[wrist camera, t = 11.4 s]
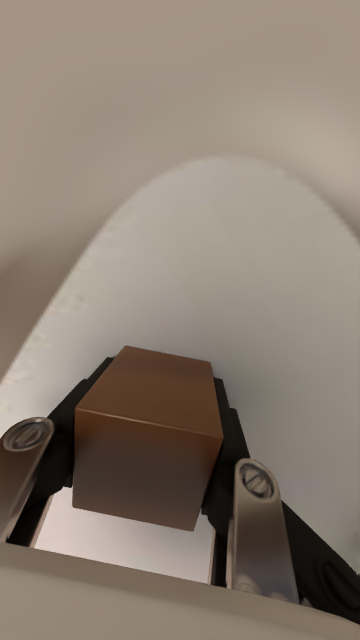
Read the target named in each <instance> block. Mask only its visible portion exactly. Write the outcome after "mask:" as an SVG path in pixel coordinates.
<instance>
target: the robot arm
mask: <svg viewBox="0 0 360 640" xmlns="http://www.w3.org/2000/svg"><path fill="white" fill-rule="evenodd" d="M114 359H115V358H110V357H107V358H106V359H105V360H104V361H103V363H102V364H101V365H100V366H99V367H98V368H97V369H96V370H95V372H94V373H93V374H92V375H91V376H90V377H89V378H88V379H83V380H82V381H80V382H79V384H78V385H77V386H76V387H75V388H74V389H73V390H72V391H71V392H70V393H69V394H68V395H67V396H66V397H65V398H64V400H63V401H62V402H61V403H60V404H59V405H58V406H57V407H56V408H55V409H54V410H53V411H52V412H51V413H50V414H49V415H48V417H47V418H45V417H33V418H29V419H25V420H23V421H21V422H19V423H17V424H15V425H14V426H12V427H11V428H9V429H8V430H7V431H6V432H5V433H4V435H3V436H2V437H1V439H0V640H360V579H359V577H358V576H357V575H356V573H355V572H354V571H353V569H352V568H351V567H350V566H349V565H348V564H347V563H346V562H345V561H344V560H343V559H342V558H341V557H340V556H339V555H338V554H337V553H336V552H335V551H334V550H333V549H332V548H331V547H330V546H329V545H328V544H327V543H326V542H325V541H324V540H323V539H322V538H320V537H319V536H318V535H317V534H316V533H315V532H314V531H313V530H312V529H311V528H310V527H309V526H308V525H307V524H306V523H305V522H304V521H303V520H302V519H301V518H300V517H299V516H298V515H297V514H296V513H295V512H293V511H292V510H291V509H290V508H289V507H288V506H287V505H286V504H285V503H284V502H283V501H282V500H281V497H280V492H279V487H278V484H277V481H276V479H275V478H274V476H273V474H272V473H271V472H270V471H269V470H268V468H266V467H265V466H264V465H263V464H261V463H260V462H258V461H256V460H254V459H251V458H250V455H249V452H248V448H247V445H246V441H245V438H244V434H243V431H242V428H241V424H240V421H239V417H238V414H237V411H236V409H233V408H229V404H228V400H227V396H226V392H225V388H224V384H223V380H221V379H216V378H213V380H214V386H215V391H216V397H217V403H218V409H219V414H220V420H221V426H222V431H223V437H224V438H223V441H222V444H221V447H220V450H219V453H218V456H217V459H216V462H215V466H214V469H213V472H212V475H211V478H210V481H209V484H208V487H207V490H206V493H205V497H204V500H203V503H202V506H201V513H202V515H207V516H208V521H209V522H210V523H211V525H212V526H213V535H212V544H211V554H210V563H209V573H208V583H207V584H204V583H200V582H195V581H190V580H186V579H181V578H176V577H171V576H167V575H162V574H157V573H152V572H147V571H142V570H138V569H133V568H128V567H123V566H118V565H113V564H108V563H104V562H99V561H94V560H89V559H84V558H79V557H74V556H69V555H64V554H59V553H55V552H50V551H44V550H39V549H34V546H35V544H36V541H37V539H38V536H39V533H40V531H41V528H42V525H43V523H44V520H45V517H46V515H47V512H48V509H49V507H50V504H51V502H52V499H53V496H54V494H55V493H57V492H58V491H60V490H61V489H62V488H63V486H64V487H69V488H71V487H72V485H73V462H74V427H75V408H76V406H77V405H78V404H79V402H80V401H81V400H82V399H83V397H84V396H85V395H86V394H87V393H88V391H89V390H90V389H91V388H92V386H93V385H94V384H95V383H96V381H97V380H98V379H99V378H100V376H101V375H102V374H103V373H104V371H105V370H106V369H107V368H108V366H109V365H110V364H111V363H112V361H113V360H114Z"/></svg>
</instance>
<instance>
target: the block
mask: <svg viewBox="0 0 360 640" xmlns="http://www.w3.org/2000/svg"><path fill="white" fill-rule="evenodd" d="M223 438H224V437H223V431H222V426H221V420H220V414H219V409H218V403H217V397H216V391H215V386H214V380H213V374H212V369H211V363H210V362H206V361H200V360H195V359H190V358H185V357H180V356H175V355H170V354H165V353H160V352H155V351H150V350H144V349H139V348H134V347H129V346H125V347H124V348H123V349H122V350H121V352H120V353H119V354H118V355H117V357H116V358H115V359H114V360H113V361H112V363H111V364H110V365H109V366H108V368H107V369H106V370H105V371H104V373H103V374H102V375H101V376H100V378H99V379H98V380H97V381H96V383H95V384H94V385H93V386H92V388H91V389H90V390H89V391H88V393H87V394H86V395H85V396H84V397H83V399H82V400H81V401H80V402H79V404H78V405H77V406H76V408H75V427H74V462H73V497H72V506H73V507H74V508H78V509H83V510H88V511H93V512H98V513H103V514H108V515H113V516H118V517H122V518H127V519H132V520H137V521H142V522H147V523H152V524H157V525H162V526H167V527H172V528H177V529H182V530H186V531H194V527H195V524H196V521H197V518H198V515H199V512H200V509H201V506H202V503H203V500H204V497H205V493H206V490H207V487H208V484H209V481H210V478H211V475H212V472H213V469H214V466H215V462H216V459H217V456H218V453H219V450H220V447H221V444H222V441H223Z"/></svg>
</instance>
